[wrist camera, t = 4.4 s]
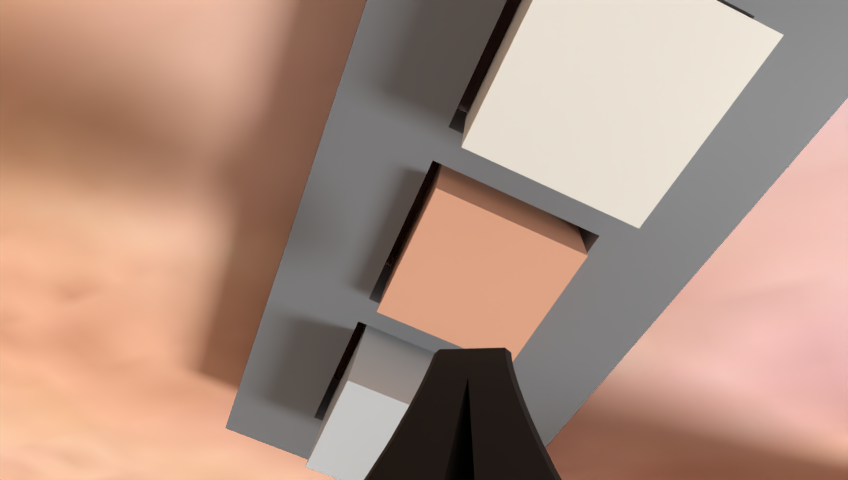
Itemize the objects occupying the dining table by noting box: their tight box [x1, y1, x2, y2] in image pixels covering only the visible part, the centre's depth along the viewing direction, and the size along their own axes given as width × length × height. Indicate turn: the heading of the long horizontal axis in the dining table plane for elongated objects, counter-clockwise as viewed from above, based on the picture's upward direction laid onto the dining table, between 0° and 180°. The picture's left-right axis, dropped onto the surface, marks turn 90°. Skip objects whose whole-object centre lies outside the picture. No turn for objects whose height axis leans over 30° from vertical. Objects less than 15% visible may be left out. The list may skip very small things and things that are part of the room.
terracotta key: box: [377, 164, 588, 362], centre depth 14 cm, size 4×4×2 cm
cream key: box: [461, 0, 784, 228], centre depth 10 cm, size 4×4×2 cm
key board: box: [226, 0, 848, 459], centre depth 14 cm, size 10×20×2 cm, turn 156°
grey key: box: [306, 325, 435, 480], centre depth 15 cm, size 4×4×2 cm
